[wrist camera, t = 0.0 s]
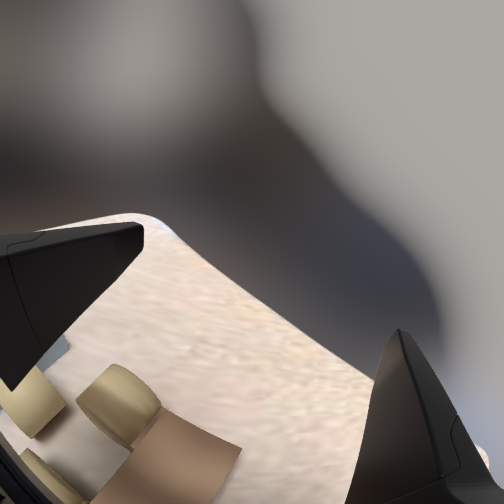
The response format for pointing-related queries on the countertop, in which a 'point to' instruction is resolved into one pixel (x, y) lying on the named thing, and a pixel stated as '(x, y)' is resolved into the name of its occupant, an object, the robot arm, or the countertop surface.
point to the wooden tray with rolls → (145, 448)
